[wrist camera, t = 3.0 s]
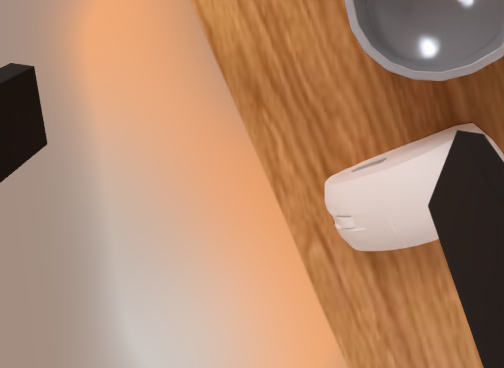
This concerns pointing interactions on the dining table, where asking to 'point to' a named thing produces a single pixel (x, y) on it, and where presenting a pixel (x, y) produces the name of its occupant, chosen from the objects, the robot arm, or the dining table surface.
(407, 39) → the steel cup
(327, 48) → the dining table surface
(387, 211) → the computer mouse
